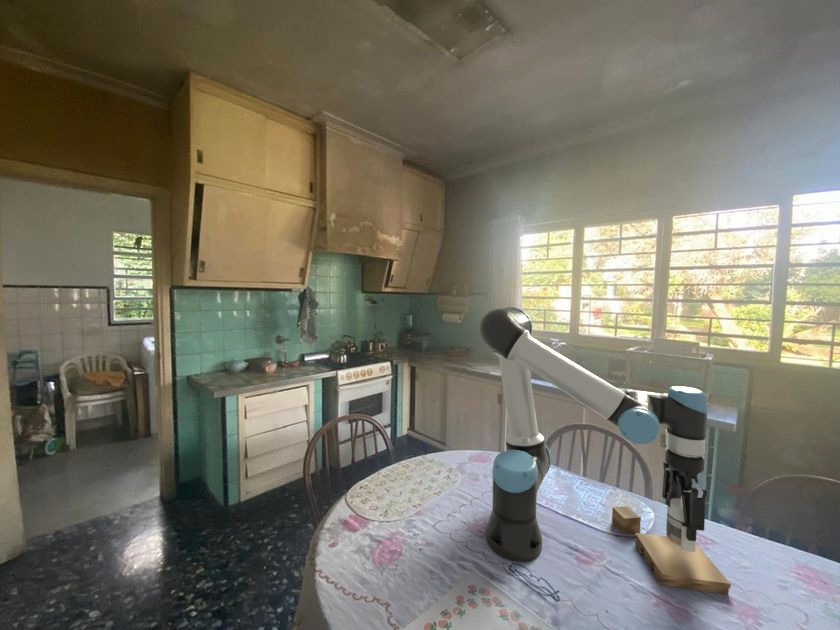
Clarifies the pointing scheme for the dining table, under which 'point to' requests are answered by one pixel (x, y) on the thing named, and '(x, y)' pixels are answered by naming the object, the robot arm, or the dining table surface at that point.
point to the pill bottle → (675, 521)
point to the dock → (681, 565)
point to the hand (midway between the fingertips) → (680, 540)
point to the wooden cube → (626, 520)
